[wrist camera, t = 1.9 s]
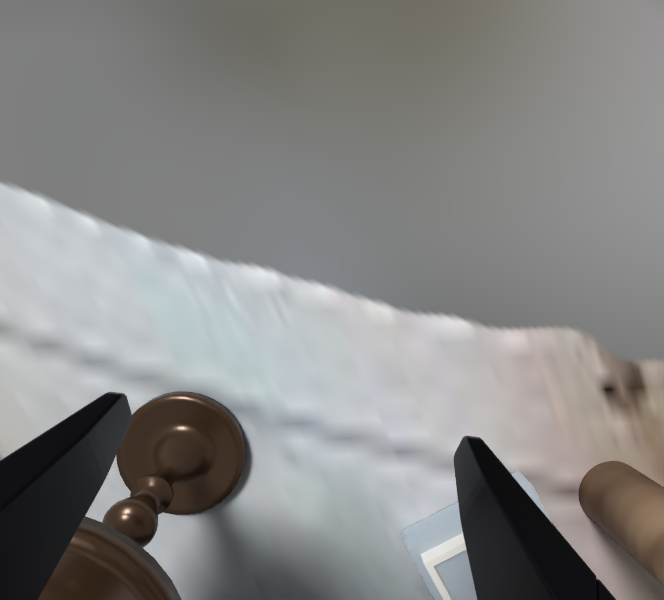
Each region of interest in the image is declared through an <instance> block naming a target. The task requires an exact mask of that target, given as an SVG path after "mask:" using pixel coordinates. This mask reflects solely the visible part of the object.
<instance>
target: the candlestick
mask: <svg viewBox="0 0 664 600" xmlns="http://www.w3.org/2000/svg"><path fill="white" fill-rule="evenodd" d="M116 455H117V465H118V468H119V472H120V475H121V477H122V479H123V481H124V483H125V485H126V486H127V487H128V488H129V490H130V491H131V494H130V497H129V498H126V499H124V500H121V501H119V502H117V503H115V504H114V505H113V506H112V507H111V508H110V509H109V510H108V511H107V513H106V514H105V516H104V518H103V523H102V522H99V521H96V520H94V519H91V518H88V517H84V518H83V520H82V522H81V524H80V525H79V527H78V529H77V531H76V533H75V534H74V536H73V538H72V540H71V541H70V543H69V545H68V547H67V549H66V550H65V552H64V554H63V556H62V558H61V559H60V561H59V563H58V565H57V566H56V568H55V570H54V572H53V574H52V575H51V577H50V579H49V581H48V582H47V584H46V586H45V588H44V590H43V591H42V593H41V595H40V597H39V598H38V600H181V598H180V596H179V594H178V592H177V590H176V588H175V586H174V584H173V582H172V580H171V579H170V577H169V576H168V575H167V574H166V572H165V571H164V570H163V569H162V567H161V566H160V565H159V564H158V562H157V561H156V560H155V559H154V558H153V557H152V556H151V555H150V554H149V553H148V552H146V551H145V550H144V549H143V547H144V546H146V545H147V544H148V543H149V542H150V541H151V540H152V538H153V537H154V535H155V533H156V531H157V526H158V514H160V513H162V512H164V513H170V514H176V515H189V514H194V513H199V512H202V511H205V510H208V509H210V508H212V507H214V506H215V505H217V504H219V503H220V502H222V501H223V500H224V499H225V498H226V497H227V496H228V495H229V494H230V493H231V491H232V490H233V488H234V487H235V486H236V484H237V482H238V479H239V477H240V475H241V472H242V470H243V467H244V462H245V457H246V444H245V439H244V435H243V432H242V430H241V428H240V425H239V423H238V422H237V420H236V419H235V418H234V416H233V415H232V413H231V412H230V411H228V410H227V409H226V408H225V407H224V406H223V405H222V404H220V403H219V402H217V401H215V400H214V399H212V398H210V397H207V396H205V395H202V394H198V393H193V392H172V393H167V394H163V395H161V396H158V397H156V398H153V399H152V400H150V401H149V402H147V403H146V404H144V405H143V406H141V407H140V408H139V409H138V410H137V411H136V412H135V413H134V414H133V415H132V416H131V421H130V424H129V426H128V429H127V431H126V433H125V436H124V438H123V440H122V442H121V445H120V447H119V449H118V452H117V454H116Z"/></svg>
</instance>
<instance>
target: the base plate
mask: <svg viewBox="0 0 664 600" xmlns="http://www.w3.org/2000/svg"><path fill="white" fill-rule="evenodd" d="M511 475H512V476H513V477H514V478H515V479H516V481H517V482H518V483H519V484H520V485H521V487H522V488H523V489H524V490H525V491H526V493H527V494H528V495H529V496H530V497H531V499H532V500H533V501H534V502H535V503H536V505H537V506H538V507H539V508H540V509H541V511H542V512H543V513H544V514H545V515H546V517H547V518H548V519H549V520H550V518H549V516H548V514H547V512H546V510H545V508H544V506H543V504H542V502H541V500H540V498H539V496H538V494H537V492H536V491H535V489H534V487H533V485H532V484H531V483H530V482H529V481H528V480H527V479H526V478H525V477H524V476H523V475H522V474H521V473H520V472H519V471H516V472H515V473H513V474H511ZM550 521H551V520H550ZM551 523H552V522H551ZM402 534H403V537H404V541H405V544H406V548H407V551H408V553H409V555H410V556H411V558H412V560H413V562H414V564H415V566H416V567H417V569H418V571H419V573H420V575H421V576H422V578H423V580H424V582H425V584H426V586H427V587H428V589H429V591H430V593H431V595H432V596H433V598H434V600H477V596H476V591H475V587H474V582H473V577H472V573H471V568H470V564H469V559H468V554H467V550H466V545H465V540H464V536H463V531H462V526H461V520H460V513H459V504H458V502H456V503H454V504H452V505H450V506H448V507H447V508H445V509H443V510H441V511H439V512H437V513H435V514H433V515H431V516H429V517H427V518H425V519H423V520H421V521H419V522H417V523H415V524H413V525H412V526H410V527H408V528H406V529H404V530H402Z"/></svg>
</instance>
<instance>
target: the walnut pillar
mask: <svg viewBox="0 0 664 600" xmlns="http://www.w3.org/2000/svg"><path fill="white" fill-rule="evenodd" d="M579 501H580V504H581V507H582V509H583V510H584V512H585V513H586V514H587V515H588V516H589V517H590V518H591V519H592V520H593V521H594V522H595V523H596V524H598V525H599V526H600V527H601V528H602V529H603V530H604V531H605V532H606V533H607V534H608V535H609V536H610V537H612V538H613V539H614V540H615V541H616V542H617V543H618V544H619V545H620V546H621V547H622V548H623V549H625V550H626V551H627V552H628V553H629V554H630V555H631V556H632V557H633V558H634V559H635V560H636V561H637V562H639V563H640V564H641V565H642V566H643V567H644V568H645V569H646V570H647V571H648V572H649V573H650V574H652V575H653V576H654V577H655V578H656V579H657V580H658V581H659V582H660V583H661V584H662V585H663V586H664V487H662V486H661V485H659V484H658V483H656V482H655V481H653V480H651V479H650V478H648V477H647V476H645V475H643V474H642V473H640V472H639V471H637V470H636V469H634V468H632V467H631V466H629V465H627V464H625V463H622V462H617V461H609V462H604V463H601V464H599V465H597V466H595V467H593V468H592V469H591V470H590V471H589V472H588V473H587V474H586V475H585V476H584V478H583V480H582V482H581V485H580V488H579Z"/></svg>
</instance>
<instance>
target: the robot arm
mask: <svg viewBox="0 0 664 600" xmlns="http://www.w3.org/2000/svg"><path fill="white" fill-rule="evenodd" d="M130 421H131V410H130V407H129V403H128V400H127V396H126V395H125V394H123V393H116V392H108V393H105V394H104V395H102V396H101V397H99V398H97V399H96V400H94V401H93V402H91V403H90V404H88V405H87V406H85V407H83V408H82V409H80V410H79V411H77V412H76V413H74V414H72V415H71V416H69V417H68V418H66V419H65V420H63V421H62V422H60V423H58V424H57V425H55V426H54V427H52V428H51V429H49V430H47V431H46V432H44V433H43V434H41V435H40V436H38V437H36V438H35V439H33V440H32V441H30V442H29V443H27V444H26V445H24V446H22V447H21V448H19V449H18V450H16V451H15V452H13V453H11V454H10V455H8V456H7V457H5V458H4V459H2V460H1V461H0V600H38V598H39V597H40V595H41V593H42V591H43V590H44V588H45V586H46V584H47V582H48V581H49V579H50V577H51V575H52V574H53V572H54V570H55V568H56V566H57V565H58V563H59V561H60V559H61V558H62V556H63V554H64V552H65V550H66V549H67V547H68V545H69V543H70V541H71V540H72V538H73V536H74V534H75V533H76V531H77V529H78V527H79V525H80V524H81V522H82V520H83V518H84V517H85V515H86V513H87V511H88V509H89V508H90V506H91V504H92V502H93V501H94V499H95V497H96V495H97V493H98V492H99V490H100V488H101V486H102V484H103V482H104V481H105V478H106V476H107V474H108V472H109V470H110V468H111V465H112V463H113V461H114V458H115V456H116V454H117V452H118V449H119V447H120V445H121V442H122V440H123V438H124V436H125V433H126V431H127V429H128V426H129V424H130ZM454 468H455V477H456V486H457V495H458V504H459V513H460V520H461V526H462V531H463V536H464V540H465V545H466V550H467V554H468V559H469V564H470V568H471V573H472V577H473V582H474V587H475V591H476V596H477V600H616V599H615V598H614V597H613V595H612V594H611V593H610V592H609V591H608V589H607V588H606V587H605V586H604V585H603V583H602V582H601V581H600V580H598V579H596V575H595V574H594V573H593V572H592V570H591V569H590V568H589V567H588V566H587V565H586V563H585V562H584V561H583V560H582V559H581V557H580V556H579V555H578V554H577V553H576V551H575V550H574V549H573V548H572V547H571V545H570V544H569V543H568V542H567V541H566V539H565V538H564V537H563V536H562V535H561V533H560V532H559V531H558V530H557V529H556V527H555V526H554V525H553V524H552V523H551V521H550V520H549V519H548V518H547V517H546V515H545V514H544V513H543V512H542V511H541V509H540V508H539V507H538V506H537V505H536V503H535V502H534V501H533V500H532V499H531V497H530V496H529V495H528V494H527V493H526V491H525V490H524V489H523V488H522V487H521V485H520V484H519V483H518V482H517V481H516V479H515V478H514V477H513V476H512V475H511V473H510V472H509V471H508V470H507V469H506V468H505V466H504V465H503V464H502V463H501V462H500V460H499V459H498V458H497V457H496V456H495V454H494V453H493V452H492V451H491V450H490V448H489V447H488V446H487V445H486V444H485V442H484V441H483V440H482V439H481V438H479V437H473V436H465V437H463V439H462V440H461V442H460V444H459V446H458V448H457V450H456V452H455V455H454Z"/></svg>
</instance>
